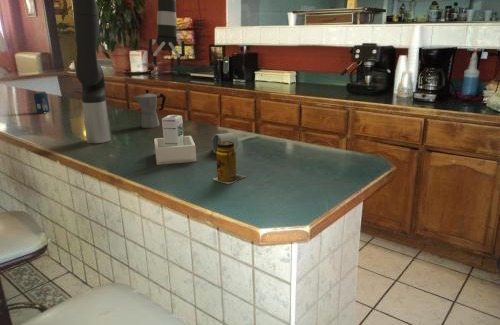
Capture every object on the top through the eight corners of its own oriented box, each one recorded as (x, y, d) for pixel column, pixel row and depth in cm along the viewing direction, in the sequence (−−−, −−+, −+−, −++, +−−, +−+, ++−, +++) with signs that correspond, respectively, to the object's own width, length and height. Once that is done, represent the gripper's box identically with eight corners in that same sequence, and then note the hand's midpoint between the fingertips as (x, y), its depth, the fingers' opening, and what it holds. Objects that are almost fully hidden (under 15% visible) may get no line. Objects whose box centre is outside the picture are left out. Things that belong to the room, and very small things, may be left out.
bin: (156, 164, 140) (155, 148, 138) (155, 153, 153) (154, 138, 151) (196, 161, 143) (195, 145, 141) (191, 150, 156) (191, 135, 154)
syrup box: (179, 157, 145) (176, 118, 140) (164, 156, 146) (161, 117, 141) (185, 152, 150) (182, 115, 145) (170, 151, 151) (167, 114, 147)
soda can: (42, 111, 235) (38, 91, 231) (52, 111, 234) (49, 91, 230) (34, 113, 228) (30, 93, 225) (45, 114, 228) (41, 93, 224)
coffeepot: (138, 129, 190) (134, 91, 184) (135, 125, 198) (131, 89, 192) (170, 126, 196) (167, 89, 190) (166, 122, 204) (163, 87, 198)
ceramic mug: (239, 152, 153) (239, 133, 151) (221, 156, 149) (221, 136, 146) (224, 146, 161) (224, 128, 159) (207, 150, 157) (206, 131, 154)
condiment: (211, 179, 126) (210, 143, 122) (229, 172, 132) (228, 137, 128) (228, 184, 121) (227, 147, 118) (246, 177, 128) (245, 141, 124)
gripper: (147, 22, 150) (148, 66, 155) (185, 25, 153) (185, 68, 158) (148, 23, 157) (149, 65, 162) (184, 26, 160) (184, 67, 165)
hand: (166, 66), depth 160 cm, fingers open, 8 cm apart
